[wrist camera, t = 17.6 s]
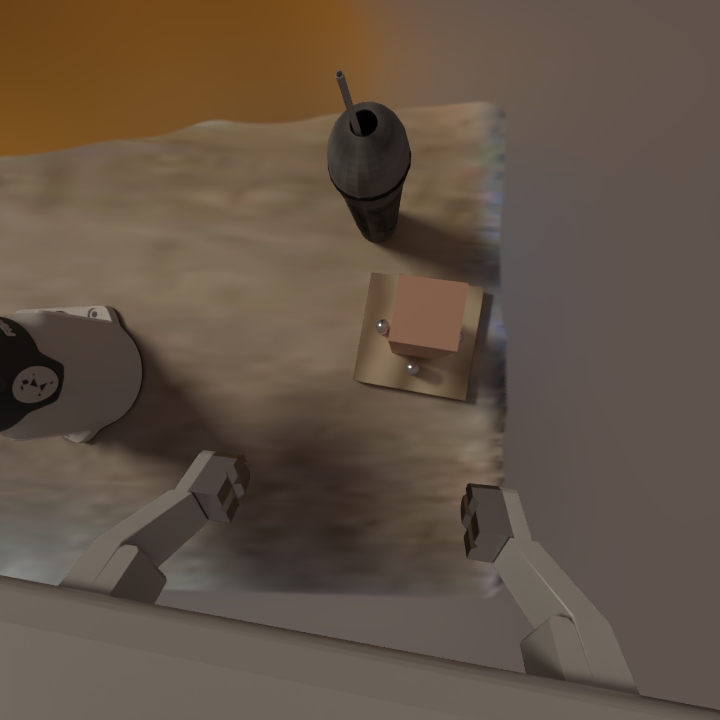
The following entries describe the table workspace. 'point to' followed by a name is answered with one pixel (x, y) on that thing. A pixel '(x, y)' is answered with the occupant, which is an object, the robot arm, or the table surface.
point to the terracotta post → (427, 316)
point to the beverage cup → (369, 163)
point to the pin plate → (407, 370)
